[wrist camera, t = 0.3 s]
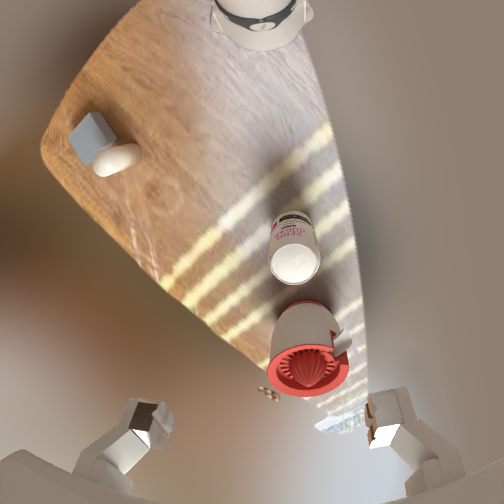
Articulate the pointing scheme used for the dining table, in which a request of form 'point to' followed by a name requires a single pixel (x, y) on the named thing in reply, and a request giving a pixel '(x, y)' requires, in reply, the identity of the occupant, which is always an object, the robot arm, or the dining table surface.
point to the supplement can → (293, 248)
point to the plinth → (91, 137)
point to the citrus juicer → (308, 351)
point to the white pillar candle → (116, 159)
